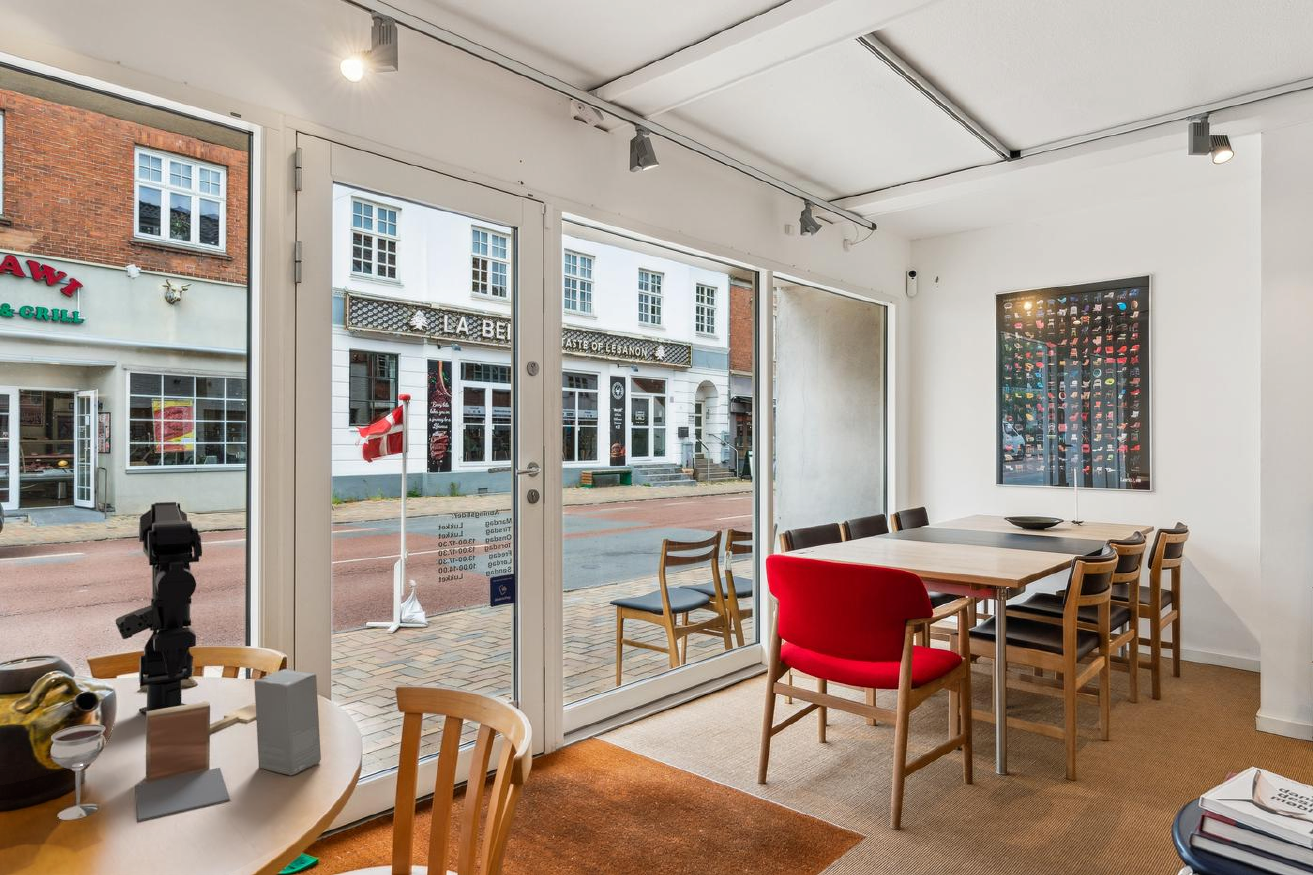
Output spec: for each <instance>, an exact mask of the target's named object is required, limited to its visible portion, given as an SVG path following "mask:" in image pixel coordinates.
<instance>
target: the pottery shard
mask: <svg viewBox="0 0 1313 875" xmlns="http://www.w3.org/2000/svg"><path fill="white" fill-rule="evenodd" d="M195 669H196V667H195V666H193V665H192V676H191V677H189V679H187V680H186V679H185V680H181V688H192V687H195V686H197V685H198V682H197V681H196V680H195V679H194V678H193V675H194V673H195ZM183 671H184V669H183ZM139 689H140V691H142V692H147V685H144V686H141V687H140V686H139Z"/></svg>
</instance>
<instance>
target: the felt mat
mask: <svg viewBox="0 0 1313 875" xmlns="http://www.w3.org/2000/svg"><path fill="white" fill-rule="evenodd" d="M229 794H230V793H229V791H228V788H227V785H226V782H225V779H224V776H223V773H222V769H221V767H217V768H210V769H209V770H206V771H201V772H196V773H191V774H186V775H181V776H177V777H172V778H167V779H162V780H157V781H152V782H148V783H146V782H143V783H138V784H135V797H136V800H135V801H136V808H137V809H136V811H137V822H143V821H147V820H151V819H155V818H161V817H164V816H168V815H174V814H177V813H181V812H186V811H190V810H193V809H194V810H195V809H199V808H204V807H207V806H208V807H209V806H211V805H213V806H214V805H218V804H220V803H225V802H229V801H231V797H230V795H229Z"/></svg>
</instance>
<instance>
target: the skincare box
mask: <svg viewBox="0 0 1313 875" xmlns="http://www.w3.org/2000/svg"><path fill="white" fill-rule="evenodd" d="M253 683H254V695H255V696H254V697H255V699H254V701H255V702H254V703H256V719H255V720H256V721H255V722H256V738H257V755H258V768H259V769H264V770H268V771H271V772H275V773H279V774H280V773H281V774H284V775H287V776H288V775H289V776H294V775H296V774H298V773H300V772H302V771H304V770H306V769H308V768H311V767H312V766H314V765H317V764H319V763H321V760H322V756H321V739H320V738H321V737H320V723H319V722H320V721H319V720H320V718H319V717H320V716H319V704H318V703H319V702H318V700H319V699H318V698H319V697H318V682H317V674H316V673H312V672H305V671H304V672H303V671H297V670H292V669H286V668H284V669H280V670H278V671H276V672H273V673H271V674H270V673H269V674H268V675H265V676H262V677H260V678H257V679H254V682H253Z"/></svg>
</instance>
